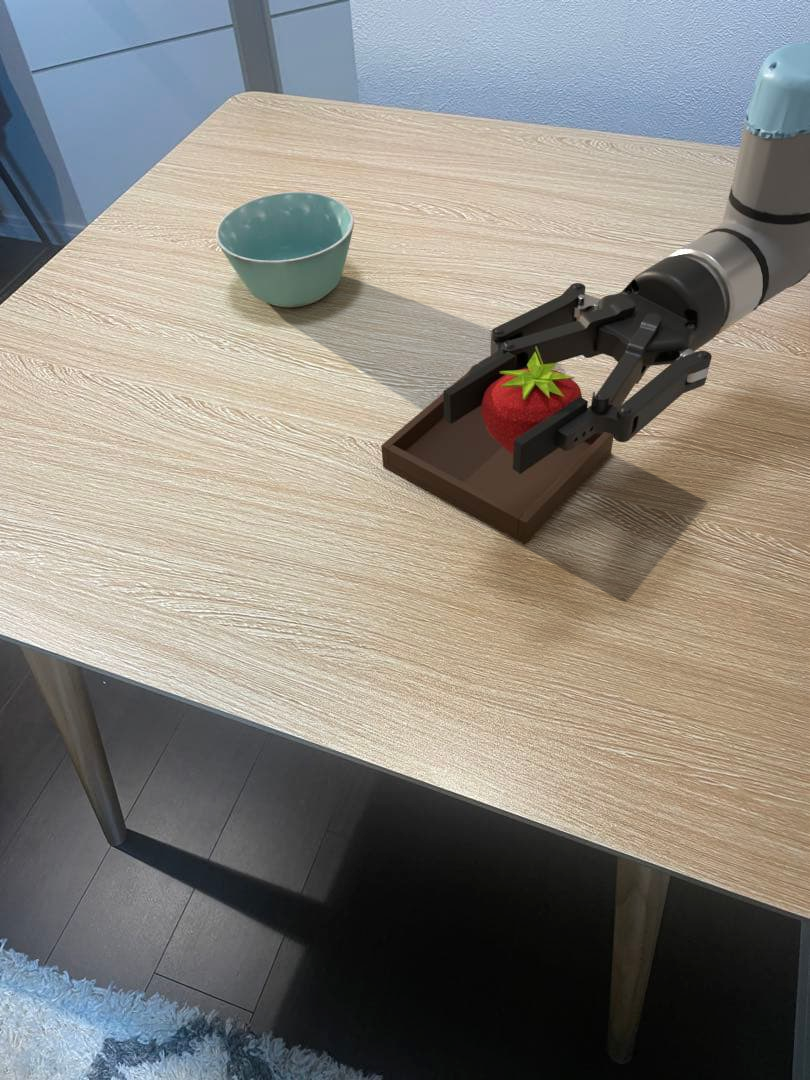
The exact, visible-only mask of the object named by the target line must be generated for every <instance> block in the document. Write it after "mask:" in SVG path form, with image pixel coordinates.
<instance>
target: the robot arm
mask: <svg viewBox="0 0 810 1080" xmlns="http://www.w3.org/2000/svg"><path fill="white" fill-rule="evenodd" d="M743 121H744V122H743V123H744V124H743V129H742V133H741V140H740V145H739V148H738V149H739V150H738V153H737V159H736V164H735V168H734V174H733V179H732V183H731V185H730V190H729V193H728V197H727V201H726V205H725V209H724V210H725V211H724V213H723V218H722V221H721V223H720V224H719V225H718V226H716V227H714V228H712V229H711V230H709V231H707V232H706V233H704V234H703V235H702V236H700V237H699V238H696V239H695V240H693V241H691V242H690V243H688V244H686V245H684V246H683V247H681V248H679V249H678V250H676V251H674V252H672V253H671V254H669V255H668V256H667V257H664V258H663V259H661V260H660V261H658V262H656V263H655V264H653V265H651V266H650V267H647V269H645V270H643V271H641V272H640V273H638V274H637V275H636V276H635V277H633V279H631V281H630V282H629V283H628V284H627V285H626V286H625V287H624V289H623V290H621V291H619V292H618V293H614V294H607V295H605V296H603V297H601V298H599V297H595V296H592V295H590V294H587V293H586V285H585V284H584V283H580V282H574V283H572V284H570V286H569V287H568V288H567V289H566V290H565V291H564V292H563V293H562V294H561V295H559V296H557V297H555V298H553V299H551V300H549V301H547V302H545V303H543V304H540V305H539V306H536V307H535V308H532V309H530V310H528V311H526V312H524V313H522V314H520V315H518V316H516V317H514V318H512V319H510V320H508V321H506V322H504V323H502V324H500V325H497V326H496V327H494V328H492V329H491V331H490V355H489V356H487V357H486V358H484V359H482V360H481V361H479V362H477V363H476V364H474V365H472V366H471V367H470V369H469V370H468V372H469V376H467V377H465V378H464V379H462V380H460V381H459V382H457V381H456V382H457V383H456V382H454V383H455V384H454V383H453V384H454V385H453V384H452V385H450V386H449V387H447V388H445V389H444V390H443V391H442V394H443V398H444V420H446V421H447V422H448V423H450V424H452V423H454V422H455V421H457V420H459V419H460V418H462V417H463V416H465V415H467V414H468V413H470V412H471V411H473V410H475V409H476V408H478V407H479V406H481V404H482V401H483V397H484V394H485V391H486V390H487V388H488V387H489V386H490V385H491V384H492V383H493V382H495V381H496V380H498V379H499V378H501V377H502V376H504V375H506V374H501V373H500V371H513V370H521V369H527V368H528V366H527V364H528V362H529V360H530V359H531V357H532V356H533V354H534V353H535V352H536V355H537V357H538V360H539V362H540V365H542V364H541V361H540V358H539V356H538V353H537V350H536V348H535V347H537V349H538V351H539V354H540V357H541V359H542V362H543V364H551V363H557V364H558V363H560V362H564V361H566V360H570V359H573V358H577V357H580V356H582V357H584V358H586V359H590V358H593V357H596V356H599V355H604V356H605V355H606V356H608V357H610V358H613V359H614V360H615V361H616V362H617V363H616V365H615V366H614V368H613V369H612V371H611V372H610V373H609V375H608V376H607V378H606V379H605V380H604V383H603V384H602V385H601V387H599V389H598V391H597V392H595V391H593V392H592V395H591V404H590V406H589V400H587V399H585V398H584V397H583V396H582V397H578V398H577V399H575V400H574V401H572V402H571V403H569V404H568V405H566V406H565V407H563V408H562V409H560V410H559V411H557V412H556V413H554V414H553V415H551V416H550V417H548V418H547V419H545V420H543V421H542V422H540V423H539V424H537V425H536V426H534V427H533V428H531V429H530V430H528V431H527V432H525V433H524V434H522V435H521V436H519V437H518V438H516V439H515V440H514V450H513V469H514V470H515V471H517V472H518V473H519V474H521V473H523V472H524V471H526V470H527V469H528V468H530V467H531V466H533V465H534V464H536V463H537V462H539V461H540V460H542V459H543V458H545V457H546V456H547V455H549V454H550V453H552V452H553V451H555V450H556V449H558V448H561V449H562V450H564V451H568V450H571V449H573V448H575V447H576V446H577V445H579V444H580V443H581V442H583V441H585V440H586V439H588V438H589V437H590V436H592V435H593V434H600V433H603V432H607V433H611V434H614V435H613V437H614V438H613V440H615V441H616V442H619V443H627V442H629V441H630V440H632V438H633V437H635V436H636V435H637V434H639V432H640V431H642V430H643V429H644V428H645V427H647V426H648V424H650V423H651V422H652V421H653V420H654V419H655V418H657V417H658V416H659V415H660V414H661V413H662V412H664V411H665V410H666V409H667V408H668V407H670V406H671V405H672V404H673V403H674V402H676V400H678V399H679V398H680V397H681V396H682V395H684V394H685V393H688V392H690V391H693V390H696V389H698V388H701V387H703V386H705V385H706V382H707V377H708V373H709V369H710V365H711V362H712V357H713V356H712V354H711V353H710V352H709V351H706V350H699V351H697V350H698V349H700V348H702V347H703V346H704V345H706V344H707V343H709V342H710V341H711V340H713V339H715V338H716V337H717V335H718V336H719V335H720V334H721V333H723V332H725V331H726V330H728V329H729V328H731V327H733V325H735V324H736V323H738V322H739V321H741V320H742V319H743V318H746V317H747V316H748V315H749V314H751V313H752V312H754V311H755V310H757V309H758V308H759V307H760V306H762V305H763V304H765V303H766V302H768V301H770V300H772V298H774V297H776V296H778V295H779V294H781V293H782V292H783V291H785V290H787V289H789V288H791V287H794V286H795V285H797V284H799V283H800V282H802V281H803V280H804V279H805V278H806V277H808V275H809V274H810V41H801V42H795V43H791V44H787V45H783V46H782V47H780V48H777V49H776V50H774V51H773V52H772V53H771V54H769V56H767V58H766V59H764V61H763V63H762V64H761V67H760V69H759V72H758V75H757V78H756V80H755V83H754V86H753V89H752V93H751V97H750V100H749V104H748V107H747V108H746V111H745V116H744V120H743ZM665 365H668V366H667V367H665V368H664V369H663V370H662V371H660V372H659V373H658V374H657V375H656V376H654V377H653V378H652V379H650V381H649V382H647V383H646V384H645V385H644V386H642V387H641V388H640V389H639V390H637V391H636V392H635V393H634V394H633V395H632V396H630V397H629V398H628V396H629V395H630V393H631V391H632V390H633V388H634V387H635V385H638V384H639V383H640V381H641V380H642V378H643V377H644V376H645V374H646V372H647V371H648V369H649V368H651V367H653V366H665ZM627 398H628V399H627ZM626 399H627V400H626Z"/></svg>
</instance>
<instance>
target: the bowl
mask: <svg viewBox="0 0 810 1080" xmlns="http://www.w3.org/2000/svg"><path fill="white" fill-rule="evenodd" d="M354 227H355V217H354V214H353V212H352V210H351V209H350V208H349V206H347V204H345V203H344V202H343V201H341V200H340V199H338V198H335V197H333V196H330V195H328V194H323V193H319V192H312V191H284V192H283V191H282V192H278V193H277V192H276V193H272V194H271V193H270V194H266V195H262V196H259V197H257V198H253V199H251V200H248V201H246V202H244V203H242V204H240V205H238V206H237V207H235V208H233V209H232V210H231V211H229V212H228V213H227V214H226V215H225V216H224V217H223V218H221V220H220V222H219V223H218V224H217V228H216V231H215V240H216V243H217V244H218V247H220V250H221V251H222V253H223V255H224V257H225V258H226V259H227V261H228V262H229V264H230V265H231V267H232V269H233V270H234V271H235V273H236V275H238V278H239V279H240V280H241V281H242V283H243V284H244V286H245V287H246V288H247V290H248V291H249V293H250V294H251V295H252V296H254V297H255V298H256V299H258V300H259V301H262V302H264V303H266V304H269V305H272V306H275V307H279V308H299V307H300V308H301V307H304V306H308V305H312V304H313V303H316V302H318V301H319V300H322V299H323V298H324V297H325V296H327V295H328V294H329V293H330V292H332V291H333V290H334V289H335V288H336V287H337V286H338V284H339V283H340V280H341V278H342V274H343V271H344V267H345V263H346V259H347V256H348V253H349V249H350V246H351V245H350V244H351V241H352V235H353V231H354Z"/></svg>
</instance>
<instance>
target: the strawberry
mask: <svg viewBox="0 0 810 1080" xmlns="http://www.w3.org/2000/svg"><path fill="white" fill-rule="evenodd" d="M535 348H536V350H537V353H538V356H539V358H540V361H541V364H542V365H540V362H539V360H538V357H537V355H536V352H535V353H534V354H533V356H532V357H531V359H530V360H529V362H528V364H527V366H528V368H527V369H521V370H513V371H500V373H501V374H506V375H504V376H502V377H501V378H499V379H498V380H496V381H495V382H493V383H492V384H491V385H490V386H489V387H488V388H487V390H486V391H485V394H484V397H483V401H482V404H481V415H482V417H483V420H484V422H485V425H486V428H487V430H488V432H489V434H490V435H491V436H492V437H493V438H494V439H495V440H496V441H497V442H498V443H499V444H501V445H502V446H503V447H504V448H505V449H506V450H507V451H509V452H511V453H512V454H513V450H514V440H515V439H516V438H518V437H519V436H521V435H522V434H524V433H525V432H527V431H528V430H530V429H531V428H533V427H534V426H536V425H537V424H539V423H540V422H542V421H543V420H545V419H547V418H548V417H550V416H551V415H553V414H554V413H556V412H557V411H559V410H560V409H562V408H563V407H565V406H566V405H568V404H569V403H571V402H572V401H574V400H575V399H577V398H578V397H582V398H583V395H582V391H581V390H582V389H581V388H580V386H579V384H578V383H577V382H576V381H575V380H574V379H575V377H574V376H571V375H567V374H565V373H564V372H563V373H562V372H561V371H558V370H556V369H554V368H555V367H556V365H557V364H558V362H557V363H551V364H543V362H542V359H541V357H540V354H539V351H538V349H537V347H535Z"/></svg>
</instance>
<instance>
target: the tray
mask: <svg viewBox="0 0 810 1080" xmlns="http://www.w3.org/2000/svg"><path fill="white" fill-rule="evenodd" d="M467 376H469V371H467V372H466V373H465V374H463V376H461V377H460V378H458V380H457V381H455V382H454V383H453V384H452V385H454V384H455V383H457V382H459V381H460V380H462V379H464V378H465V377H467ZM613 435H614V434H611V433H607V432H603V433H600V434H593V435H592V436H590V437H589V438H588V439H586V440H585V441H583V442H581V443H580V444H579V445H577V446H576V447H575V448H573V449H571V450H568V451H564V450H562V449H561V448H558V449H556V450H555V451H553V452H552V453H550V454H549V455H547V456H546V457H545V458H543V459H542V460H540V461H539V462H537V463H536V464H534V465H533V466H531V467H530V468H528V469H527V470H526V471H524V472H523V473H521V474H519V473H518V472H517V471H515V470H514V469H513V454H512V453H511V452H509V451H507V450H506V449H505V448H504V447H503V446H502V445H501V444H499V443H498V442H497V441H496V440H495V439H494V438H493V437H492V436H491V435H490V434H489V432H488V430H487V428H486V425H485V422H484V420H483V417H482V415H481V406H479V407H478V408H476V409H475V410H473V411H471V412H470V413H468V414H467V415H465V416H463V417H462V418H460V419H459V420H457V421H455V422H454V423H452V424H450V423H448V422H447V421H446V420H444V398H443V393H441V394H440V395H439V396H438V397H437V398H435V399H434V400H433V401H432V402H431V403H429V404H428V405H427V406H426V407H425V408H423V410H422V411H420V412H419V413H418V414H416V415H415V416H414V417H413V418H412V419H410V421H408V422H407V423H405V424H404V426H402V427H401V428H400V429H398V431H396V432H395V433H393V435H392V436H391V437H389V438H388V439H387V440H386V441H384V443H382V444H381V445H380V448H381V460H382V467H383V468H385V469H386V470H389V471H390V472H392V473H394V474H396V475H397V476H399V477H401V478H403V479H405V480H406V481H409V482H410V483H412V484H415V485H416V486H418V487H419V488H421V489H424V490H425V491H426V492H428V493H431V494H433V495H434V496H435V497H438V498H440V499H441V500H443V501H445V502H447V503H449V504H451V505H453V506H454V507H456V508H458V509H460V510H462V511H463V512H466V513H468V514H469V515H471V516H472V517H474V518H476V519H478V520H480V521H482V522H483V523H485V524H487V525H489V526H491V527H493V528H494V529H496V530H498V531H500V532H502V533H504V534H506V535H508V536H509V537H511V538H513V539H515V540H517V542H520V543H522V544H523V545H526V544H527V543H528V542H529V541H530V539H531V538H533V536H534V535H535V534H536V533H537V532H538V531H539V530H540V529H541V528H542V527H543V526H544V525H545V524H546V523H547V522H548V521H549V519H550V518H551V517H552V516H553V515H554V514H555V513H557V511H558V510H559V509H560V508H561V507H562V506H563V505H564V504H565V502H567V501H568V499H570V497H571V496H572V495H573V494H574V493H575V492H576V491H577V490H578V489H579V488H580V487H581V486H582V484H584V483H585V481H587V479H588V478H589V477H590V476H591V475H593V473H594V472H595V471H596V470H597V469H598V468H599V467H600V466H601V465H602V464H603V463H604V462H605V460H607V458H609V457H610V455H611V454H612V449H613V443H614V437H613Z"/></svg>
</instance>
